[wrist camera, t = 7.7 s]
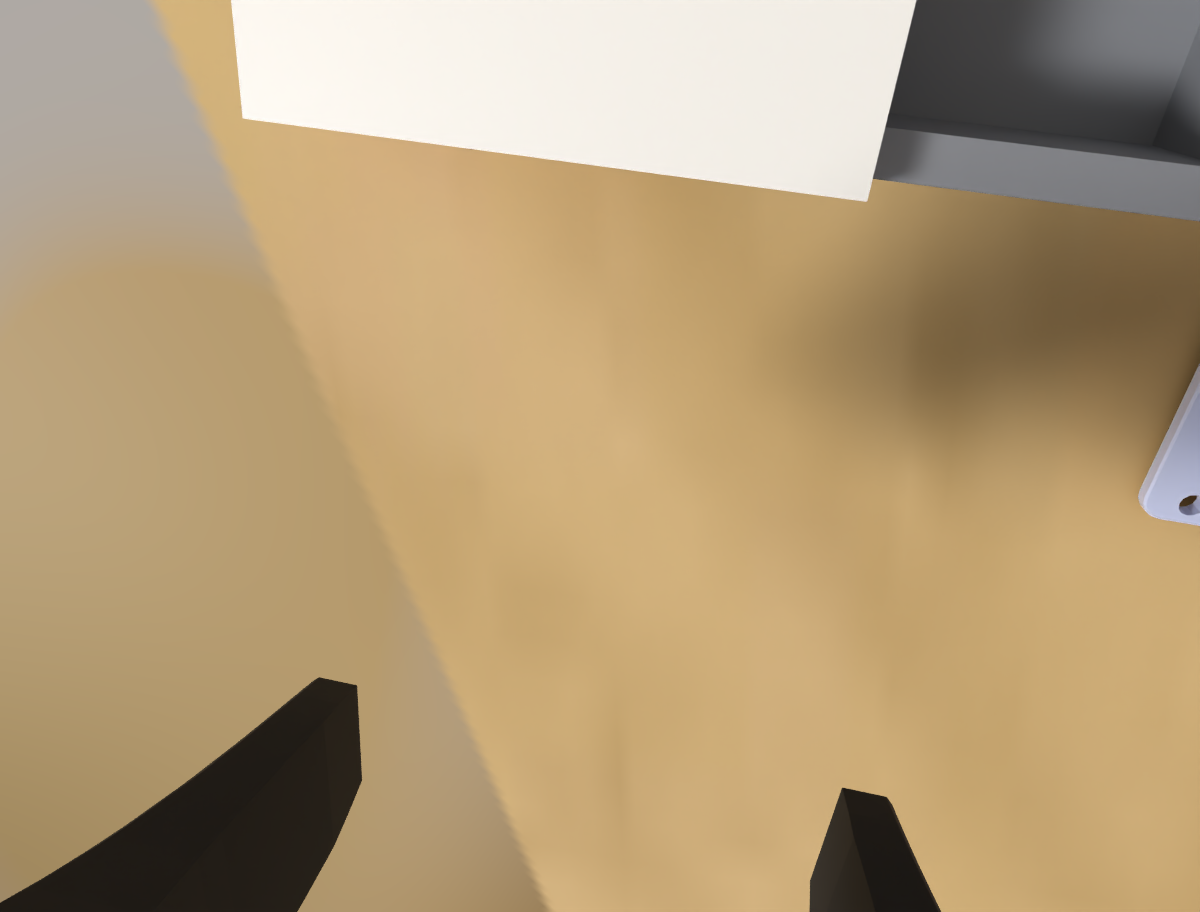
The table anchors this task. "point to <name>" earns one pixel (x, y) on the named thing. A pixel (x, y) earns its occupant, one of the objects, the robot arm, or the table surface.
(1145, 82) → the carton
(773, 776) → the table surface
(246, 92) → the carton lid
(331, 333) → the table surface
